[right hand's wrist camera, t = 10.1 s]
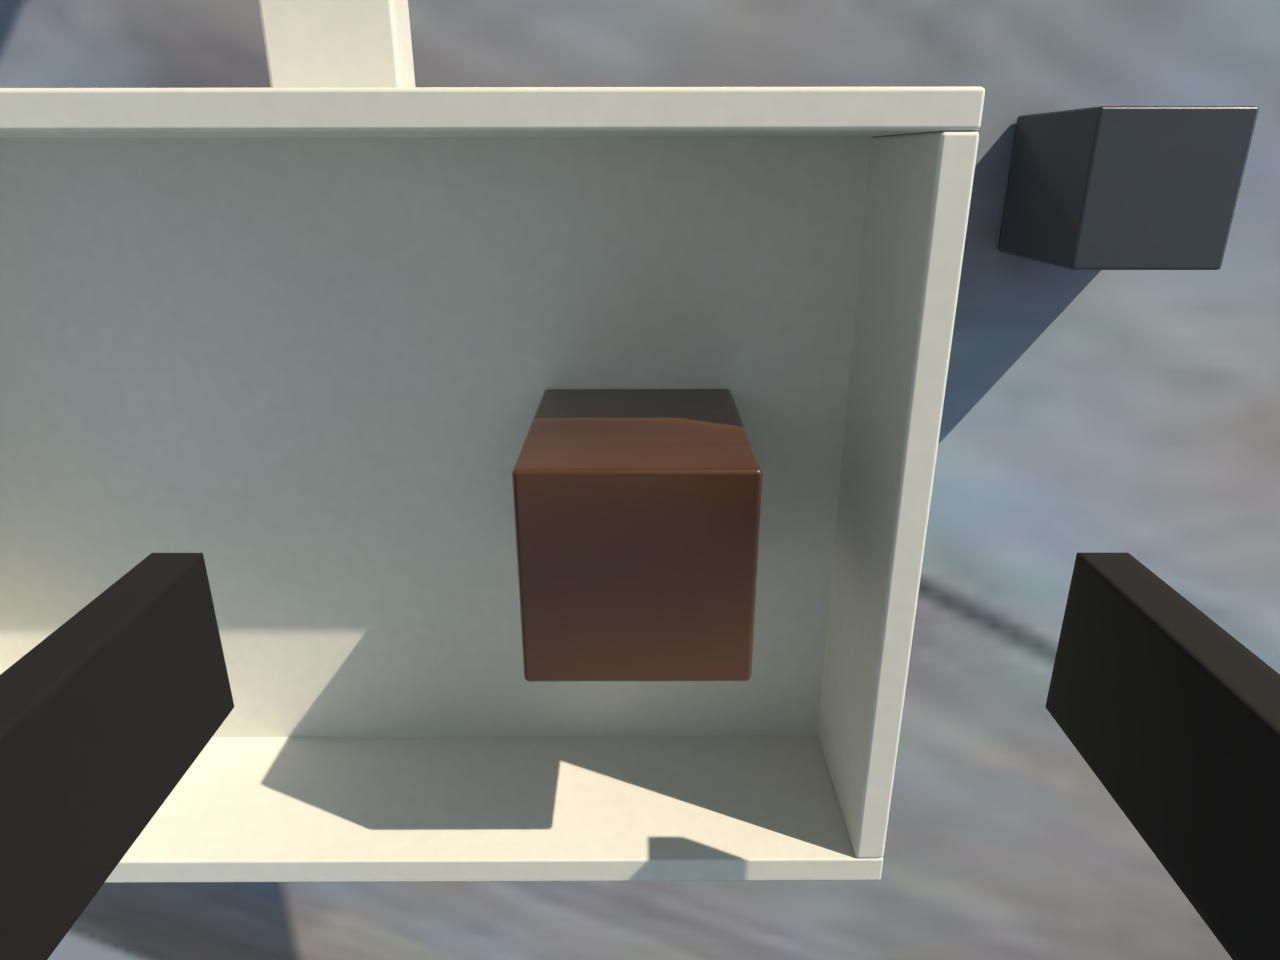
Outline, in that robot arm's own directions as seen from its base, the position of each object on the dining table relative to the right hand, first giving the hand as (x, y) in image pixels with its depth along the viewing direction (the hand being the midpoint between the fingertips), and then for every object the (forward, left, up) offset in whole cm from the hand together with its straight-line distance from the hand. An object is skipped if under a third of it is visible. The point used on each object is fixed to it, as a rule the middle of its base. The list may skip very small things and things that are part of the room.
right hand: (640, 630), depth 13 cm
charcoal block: (+6, -14, -17) cm, 22 cm away
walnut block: (0, 0, -6) cm, 6 cm away
